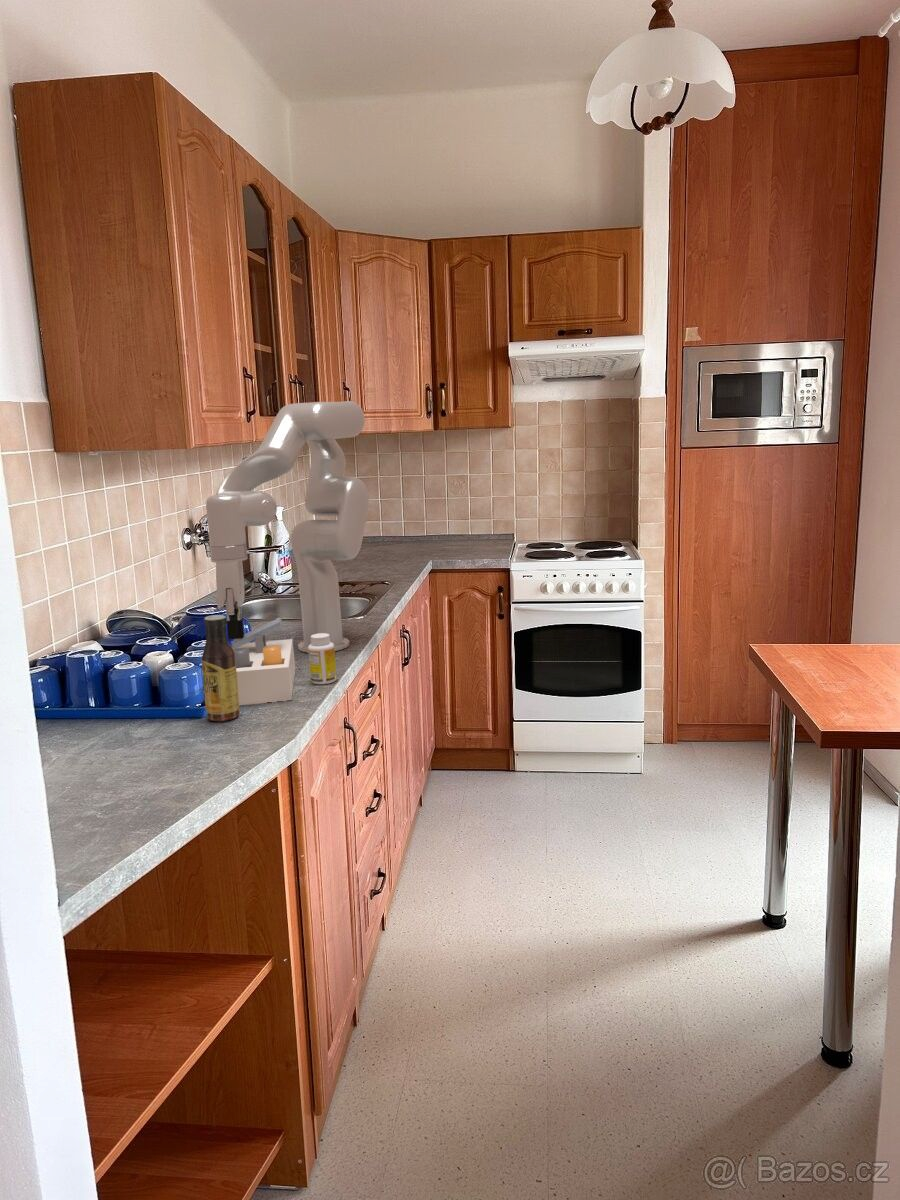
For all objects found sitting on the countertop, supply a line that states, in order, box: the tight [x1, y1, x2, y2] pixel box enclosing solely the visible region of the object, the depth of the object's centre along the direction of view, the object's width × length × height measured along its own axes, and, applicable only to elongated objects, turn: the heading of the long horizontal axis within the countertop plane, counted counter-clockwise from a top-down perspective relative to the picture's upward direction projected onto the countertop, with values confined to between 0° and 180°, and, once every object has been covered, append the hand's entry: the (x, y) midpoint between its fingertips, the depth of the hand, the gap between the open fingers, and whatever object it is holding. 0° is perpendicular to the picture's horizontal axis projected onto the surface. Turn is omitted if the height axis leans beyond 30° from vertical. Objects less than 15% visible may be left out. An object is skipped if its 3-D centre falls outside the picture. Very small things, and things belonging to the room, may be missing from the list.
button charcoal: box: [234, 648, 250, 668], centre depth 180 cm, size 4×4×8 cm
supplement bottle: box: [307, 633, 338, 685], centre depth 189 cm, size 6×6×10 cm
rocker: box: [231, 617, 283, 649], centre depth 192 cm, size 6×11×2 cm, turn 98°
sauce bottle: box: [200, 614, 240, 723], centre depth 168 cm, size 7×6×20 cm
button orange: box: [263, 646, 282, 666], centre depth 181 cm, size 4×4×8 cm
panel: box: [232, 635, 296, 706], centre depth 188 cm, size 24×13×10 cm, turn 8°
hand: (236, 637), depth 190 cm, fingers closed
